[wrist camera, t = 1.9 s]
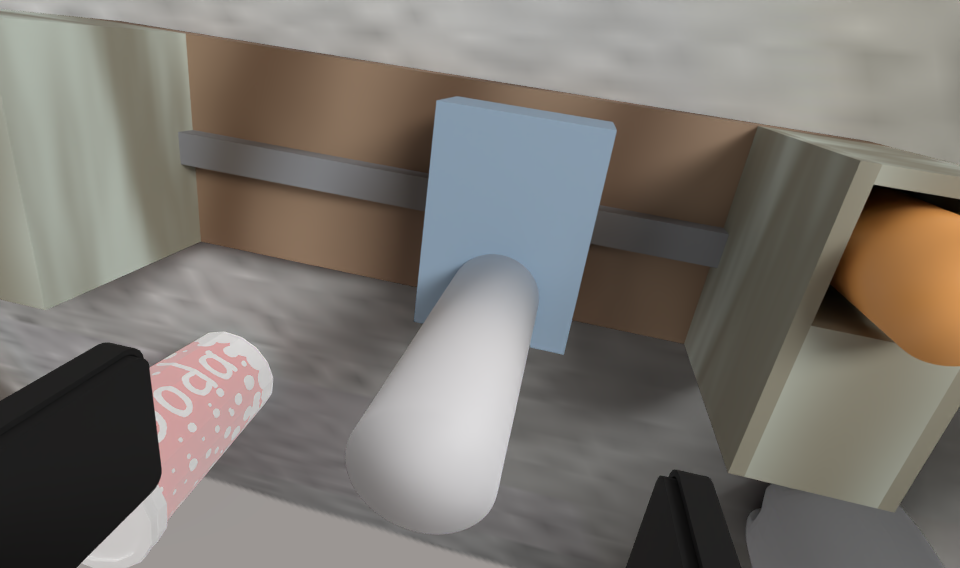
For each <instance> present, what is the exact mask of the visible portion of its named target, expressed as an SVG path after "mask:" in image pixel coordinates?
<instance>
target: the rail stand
mask: <svg viewBox="0 0 960 568" xmlns="http://www.w3.org/2000/svg"><path fill="white" fill-rule="evenodd" d="M456 96H459V97H465V98H471V99H477V100H483V101H489V102H495V103H501V104H507V105H513V106H519V107H525V108H531V109H537V110H544V111H550V112H556V113H562V114H568V115H574V116H580V117H586V118H592V119H598V120H604V121H610V122H613V123H614V125H615V127H616V130H617V132H616V136H615V141H614V145H613V149H612V153H611V158H610V162H609V166H608V170H607V174H606V179H605V183H604V187H603V191H602V195H601V200H600V204H599V208H598V212H597V217H596V221H595V225H594V229H593V233H592V238H591V242H590V246H589V250H588V254H587V259H586V263H585V267H584V271H583V276H582V280H581V284H580V288H579V292H578V297H577V301H576V305H575V309H574V313H573V318H572V320H573V321H578V322H583V323H588V324H592V325H597V326H602V327H606V328H611V329H616V330H621V331H625V332H630V333H635V334H639V335H644V336H649V337H654V338H658V339H663V340H668V341H672V342H677V343H682V344H684V345H685V348H686V351H687V354H688V357H689V360H690V363H691V366H692V369H693V372H694V375H695V378H696V381H697V384H698V386H699V389H700V392H701V395H702V398H703V401H704V404H705V407H706V410H707V413H708V416H709V419H710V422H711V425H712V428H713V430H714V433H715V436H716V439H717V442H718V445H719V448H720V451H721V454H722V457H723V460H724V463H725V466H726V469H727V471H728V473H730V474H734V475H739V476H743V477H747V478H751V479H755V480H760V481H764V482H768V483H772V484H776V485H780V486H785V487H789V488H793V489H797V490H801V491H806V492H810V493H814V494H818V495H822V496H827V497H831V498H835V499H839V500H843V501H848V502H852V503H856V504H860V505H864V506H869V507H873V508H877V509H881V510H885V511H890V512H894V513H895V511H896V509H897V508H898V506H899V504H900V503H901V501H902V500H903V498H904V496H905V495H906V493H907V491H908V490H909V488H910V486H911V485H912V483H913V482H914V480H915V478H916V477H917V475H918V473H919V472H920V470H921V469H922V467H923V465H924V464H925V462H926V460H927V459H928V457H929V455H930V454H931V452H932V451H933V449H934V447H935V446H936V444H937V442H938V441H939V439H940V437H941V436H942V434H943V433H944V431H945V429H946V428H947V426H948V424H949V423H950V421H951V420H952V418H953V416H954V415H955V413H956V411H957V410H958V408H959V406H960V366H941V365H935V364H931V363H927V362H924V361H922V360H919V359H917V358H915V357H913V356H911V355H909V354H908V353H907V352H905V351H904V350H903V349H902V348H901V347H899V346H898V345H897V344H896V343H895V342H894V341H893V340H892V339H891V338H889V337H888V336H887V335H886V334H885V333H884V332H883V331H882V330H881V329H879V328H878V327H877V326H876V325H875V324H874V323H873V322H872V321H870V320H869V319H868V318H867V317H866V316H865V315H864V314H863V313H862V312H860V311H859V310H858V309H857V308H856V307H855V306H854V305H853V304H852V303H850V302H849V301H848V300H847V299H846V298H845V297H844V296H843V295H842V294H840V293H839V292H838V291H837V290H836V289H835V288H834V287H833V286H831V285H830V282H831V280H832V277H833V275H834V273H835V271H836V268H837V266H838V264H839V262H840V259H841V257H842V255H843V253H844V250H845V248H846V246H847V243H848V241H849V239H850V237H851V234H852V232H853V230H854V228H855V225H856V223H857V221H858V219H859V216H860V214H861V212H862V210H863V207H864V205H865V203H866V201H867V198H868V196H869V194H870V192H871V189H872V187H883V188H890V189H894V190H897V191H900V192H902V193H905V194H908V195H910V196H913V197H915V198H918V199H920V200H923V201H925V202H928V203H930V204H933V205H935V206H938V207H940V208H943V209H945V210H948V211H950V212H953V213H956V214H958V215H960V165H958V164H954V163H950V162H946V161H942V160H938V159H935V158H931V157H927V156H923V155H919V154H915V153H912V152H908V151H904V150H900V149H896V148H892V147H888V146H885V145H881V144H877V143H873V142H869V141H863V140H857V139H851V138H844V137H838V136H832V135H826V134H819V133H813V132H807V131H801V130H794V129H788V128H782V127H776V126H770V125H763V124H757V123H751V122H745V121H738V120H732V119H726V118H720V117H714V116H707V115H701V114H695V113H689V112H682V111H676V110H670V109H664V108H657V107H651V106H645V105H639V104H633V103H626V102H620V101H614V100H608V99H601V98H595V97H589V96H583V95H577V94H570V93H564V92H558V91H552V90H545V89H539V88H533V87H527V86H521V85H514V84H508V83H502V82H496V81H489V80H483V79H477V78H471V77H464V76H458V75H452V74H446V73H440V72H433V71H427V70H421V69H415V68H408V67H402V66H396V65H390V64H384V63H377V62H371V61H365V60H359V59H352V58H346V57H340V56H334V55H328V54H321V53H315V52H309V51H303V50H296V49H290V48H284V47H278V46H271V45H265V44H259V43H253V42H247V41H240V40H234V39H228V38H222V37H215V36H209V35H203V34H197V33H191V32H184V31H178V30H172V29H166V28H159V27H153V26H147V25H141V24H134V23H128V22H122V21H113V20H103V19H93V18H83V17H74V16H64V15H54V14H44V13H34V12H24V11H15V10H5V9H0V299H1V300H5V301H9V302H13V303H17V304H22V305H26V306H30V307H34V308H38V309H43V310H47V309H50V308H52V307H54V306H56V305H59V304H61V303H63V302H65V301H68V300H70V299H72V298H74V297H77V296H79V295H81V294H83V293H86V292H88V291H90V290H92V289H95V288H97V287H99V286H102V285H104V284H106V283H108V282H111V281H113V280H115V279H117V278H120V277H122V276H124V275H126V274H129V273H131V272H133V271H135V270H138V269H140V268H142V267H144V266H147V265H149V264H151V263H153V262H156V261H158V260H160V259H162V258H165V257H167V256H169V255H171V254H174V253H176V252H178V251H180V250H183V249H185V248H187V247H189V246H192V245H194V244H196V243H199V242H206V243H211V244H215V245H220V246H225V247H229V248H234V249H239V250H244V251H248V252H253V253H258V254H262V255H267V256H272V257H277V258H281V259H286V260H291V261H295V262H300V263H305V264H310V265H314V266H319V267H324V268H328V269H333V270H338V271H343V272H347V273H352V274H357V275H361V276H366V277H371V278H376V279H380V280H385V281H390V282H394V283H399V284H404V285H409V286H413V287H417V286H418V276H419V266H420V257H421V247H422V237H423V227H424V218H425V208H426V198H427V188H428V179H429V169H430V159H431V150H432V140H433V130H434V120H435V111H436V101H437V100H441V99H446V98H451V97H456Z"/></svg>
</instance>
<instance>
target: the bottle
mask: <svg viewBox="0 0 960 568" xmlns="http://www.w3.org/2000/svg"><path fill="white" fill-rule="evenodd" d="M746 542H747V548H748V552H749V556H750V560H751V564H752V568H945V567H944V566H943V564H942V562H941V561H940V559H939V558H938V556H937V555H936V553H935V551H934V550H933V548H932V547H931V545H930V544H929V542H928V541H927V539H926V538H925V536H924V535H923V533H922V532H921V531H920V529H919V528H918V527H917V526H916V525H915V523H914V522H913V521H912V520H911V518H910V517H909V516H908V515H907V514H906V512H905V511H904V510H903V509H902V508H901V507H900V506H898V508H897V509H896V511H895V513H894V512H890V511H885V510H881V509H877V508H873V507H869V506H864V505H860V504H856V503H852V502H848V501H843V500H839V499H835V498H831V497H827V496H822V495H818V494H814V493H810V492H806V491H801V490H797V489H790V488H789V487H785V486H780V485H776V484H771V485H769V486H768V487H767V488H766V491H765V495H764V499H763V504H762V508H760V509H756V510H754V511H752V512H751V513H750V514H749V516H748V518H747V524H746Z"/></svg>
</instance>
